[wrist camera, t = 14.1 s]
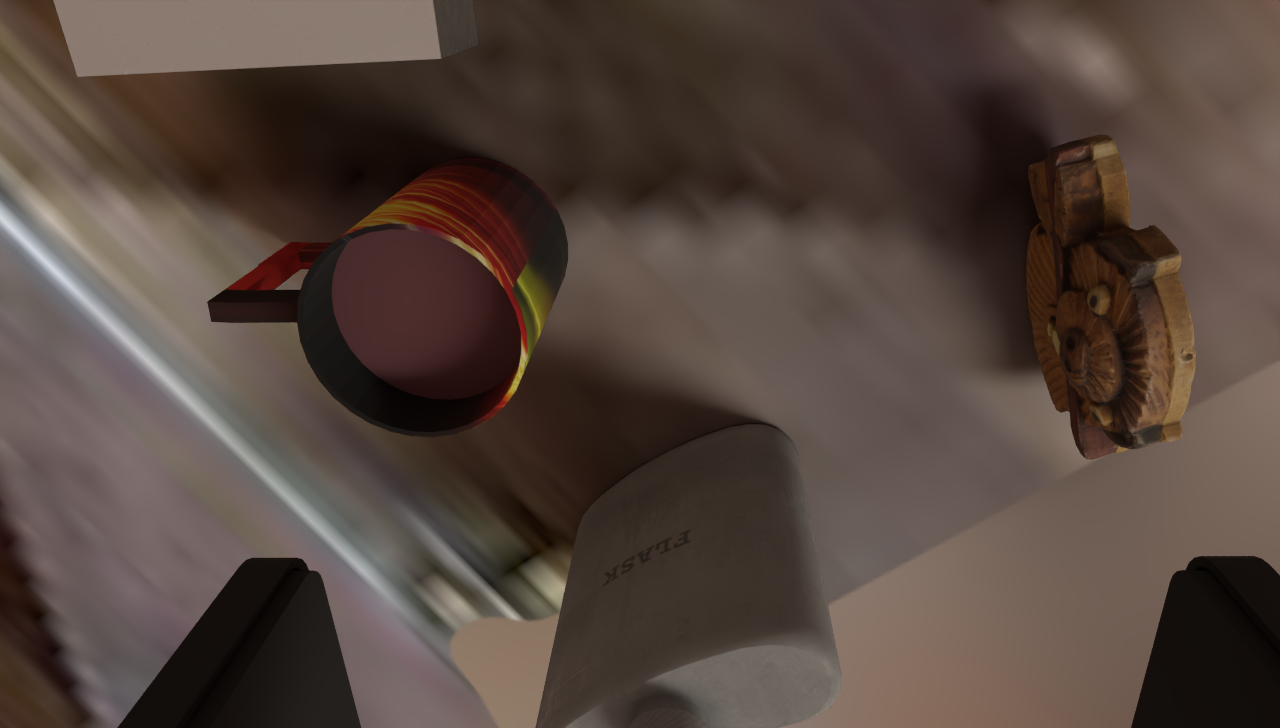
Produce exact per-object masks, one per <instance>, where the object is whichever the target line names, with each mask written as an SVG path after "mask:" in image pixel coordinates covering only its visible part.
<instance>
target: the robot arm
mask: <svg viewBox="0 0 1280 728" xmlns="http://www.w3.org/2000/svg"><path fill="white" fill-rule="evenodd" d="M118 728H361V725H360V722H359V718H358V714H357V710H356V706H355V702H354V699H353V695H352V691H351V687H350V683H349V679H348V675H347V672H346V668H345V664H344V660H343V656H342V652H341V649H340V645H339V641H338V637H337V633H336V629H335V626H334V622H333V618H332V614H331V610H330V606H329V603H328V599H327V595H326V591H325V587H324V583H323V580H322V578H321V575H320V574H319V573H318V572H317V571H309V570H308V567H307V565H306V563H305V562H304V561H303V560H302V559H299V558H250V559H248V560H246V561H245V562H244V563H243V564H241V565H240V567H239V568H238V569H237V571H236V572H235V573H234V575H233V576H232V577H231V578H230V580H229V581H228V582H227V584H226V585H225V586H224V588H223V589H222V590H221V592H220V593H219V594H218V596H217V597H216V598H215V600H214V601H213V602H212V604H211V605H210V606H209V608H208V609H207V610H206V612H205V613H204V614H203V615H202V617H201V618H200V619H199V621H198V622H197V623H196V625H195V626H194V627H193V629H192V630H191V631H190V633H189V634H188V635H187V637H186V638H185V639H184V641H183V642H182V643H181V645H180V646H179V647H178V649H177V650H176V651H175V652H174V654H173V655H172V656H171V658H170V659H169V660H168V662H167V663H166V664H165V666H164V667H163V668H162V670H161V671H160V672H159V674H158V675H157V676H156V678H155V679H154V680H153V682H152V683H151V684H150V686H149V687H148V688H147V690H146V691H145V692H144V693H143V695H142V696H141V697H140V699H139V700H138V701H137V703H136V704H135V705H134V707H133V708H132V709H131V711H130V712H129V713H128V715H127V716H126V717H125V719H124V720H123V721H122V723H121V724H120V725H119V727H118ZM1131 728H1280V575H1279V574H1278V573H1277V572H1276V571H1275V570H1274V569H1273V568H1272V567H1271V566H1270V565H1269V564H1268V563H1267V562H1265V561H1264V560H1263V559H1261V558H1258V557H1255V556H1200V557H1196V558H1193V560H1191V561H1190V563H1189V564H1188V566H1187V568H1186V570H1181V571H1177V572H1176V573H1175V574H1174V575H1173V576H1172V579H1171V581H1170V584H1169V588H1168V592H1167V595H1166V599H1165V603H1164V607H1163V610H1162V614H1161V618H1160V622H1159V625H1158V629H1157V633H1156V637H1155V641H1154V644H1153V648H1152V652H1151V655H1150V659H1149V663H1148V667H1147V670H1146V674H1145V678H1144V682H1143V685H1142V689H1141V693H1140V697H1139V700H1138V704H1137V708H1136V712H1135V715H1134V719H1133V723H1132V726H1131Z"/></svg>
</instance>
